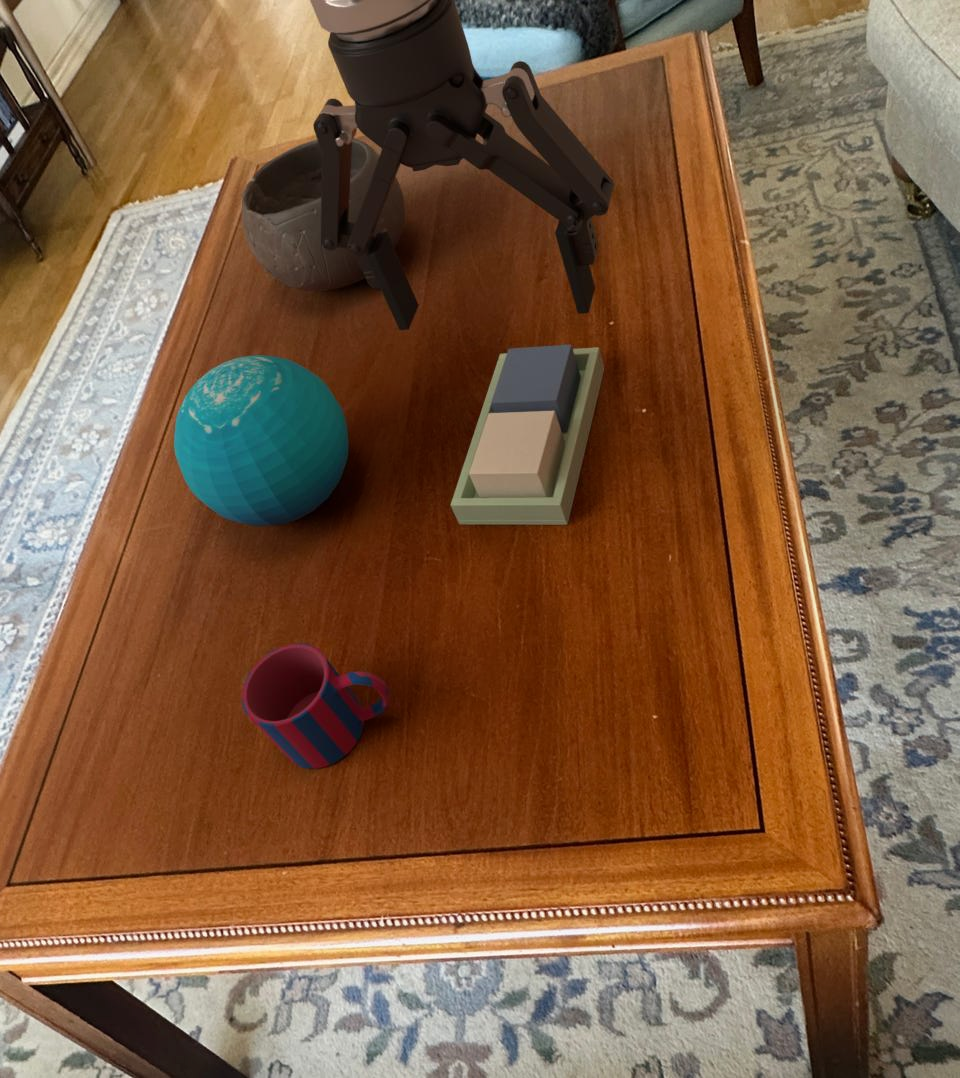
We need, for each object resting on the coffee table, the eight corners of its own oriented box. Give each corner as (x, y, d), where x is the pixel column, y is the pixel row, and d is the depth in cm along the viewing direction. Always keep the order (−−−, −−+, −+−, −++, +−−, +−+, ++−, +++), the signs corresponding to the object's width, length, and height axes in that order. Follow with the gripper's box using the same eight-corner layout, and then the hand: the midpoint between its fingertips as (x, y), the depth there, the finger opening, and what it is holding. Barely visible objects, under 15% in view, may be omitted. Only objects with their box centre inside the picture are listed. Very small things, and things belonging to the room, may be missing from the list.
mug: (294, 691, 77) (255, 645, 72) (412, 686, 74) (380, 638, 69) (273, 770, 73) (230, 726, 68) (396, 768, 70) (361, 723, 65)
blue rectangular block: (519, 380, 92) (508, 348, 89) (581, 377, 90) (571, 343, 87) (503, 434, 88) (490, 402, 85) (567, 432, 86) (556, 399, 83)
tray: (507, 374, 94) (499, 353, 92) (604, 368, 91) (599, 346, 89) (459, 524, 84) (449, 505, 82) (567, 525, 80) (560, 504, 78)
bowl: (254, 285, 118) (202, 193, 109) (372, 205, 122) (331, 110, 113) (323, 340, 107) (271, 242, 97) (451, 250, 110) (413, 148, 101)
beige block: (500, 444, 87) (488, 412, 84) (565, 442, 85) (554, 410, 82) (482, 505, 83) (468, 473, 80) (549, 504, 81) (537, 472, 78)
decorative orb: (380, 425, 95) (316, 302, 84) (366, 544, 85) (293, 423, 74) (240, 455, 98) (161, 340, 87) (212, 573, 89) (120, 461, 78)
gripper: (177, 83, 57) (326, 357, 73) (591, -7, 48) (661, 330, 63) (226, 21, 62) (357, 292, 77) (614, -73, 52) (675, 257, 68)
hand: (494, 310), depth 70 cm, fingers open, 13 cm apart
